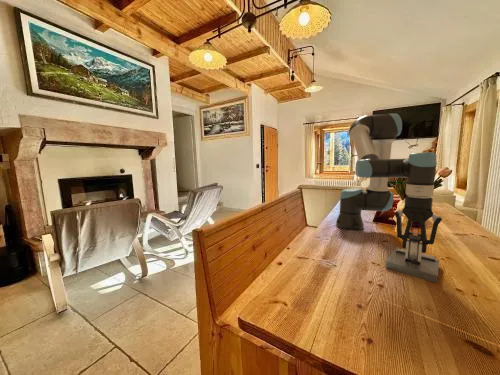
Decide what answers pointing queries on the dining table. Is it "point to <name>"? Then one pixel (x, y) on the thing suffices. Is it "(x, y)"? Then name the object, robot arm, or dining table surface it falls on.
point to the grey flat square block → (414, 265)
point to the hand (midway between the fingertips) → (413, 258)
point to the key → (414, 246)
